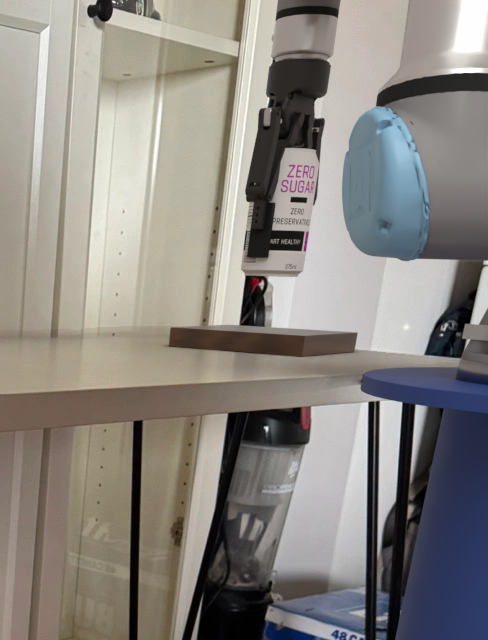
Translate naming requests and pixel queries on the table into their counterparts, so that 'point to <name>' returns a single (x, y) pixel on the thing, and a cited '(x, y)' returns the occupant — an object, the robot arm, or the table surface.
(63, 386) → the table surface
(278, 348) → the walnut board
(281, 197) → the supplement can
